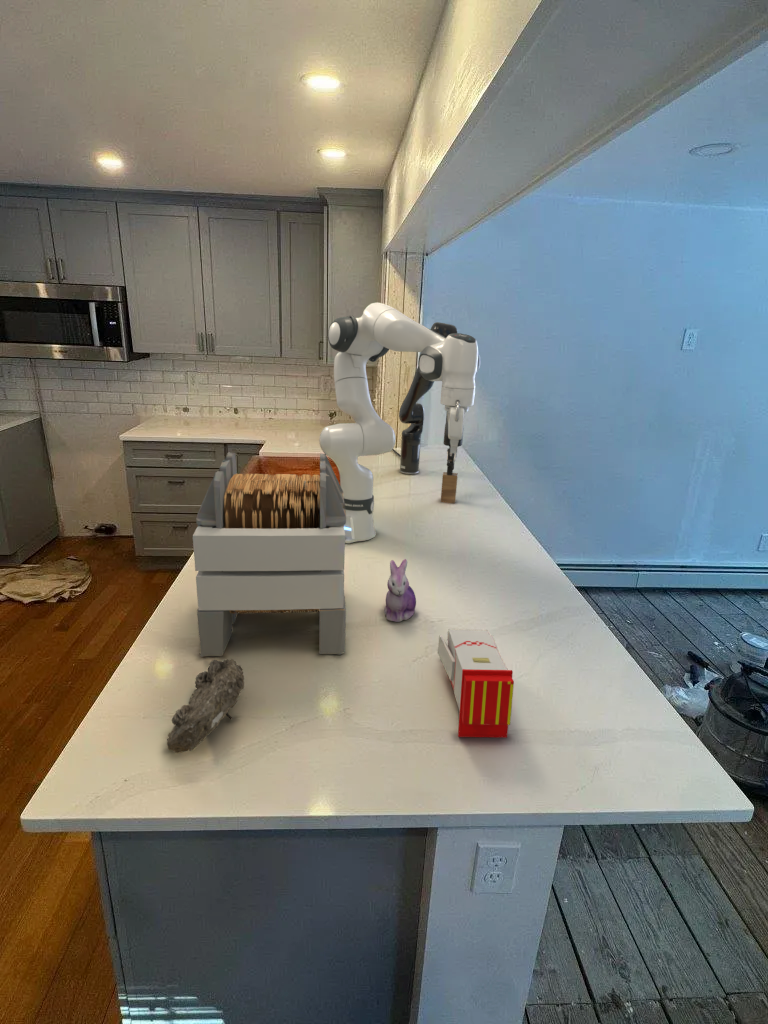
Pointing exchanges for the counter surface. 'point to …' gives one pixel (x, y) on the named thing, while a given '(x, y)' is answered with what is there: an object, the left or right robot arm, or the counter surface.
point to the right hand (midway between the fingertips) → (450, 472)
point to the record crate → (270, 552)
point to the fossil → (206, 705)
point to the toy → (478, 682)
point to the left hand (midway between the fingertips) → (453, 448)
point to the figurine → (399, 594)
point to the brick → (449, 487)
